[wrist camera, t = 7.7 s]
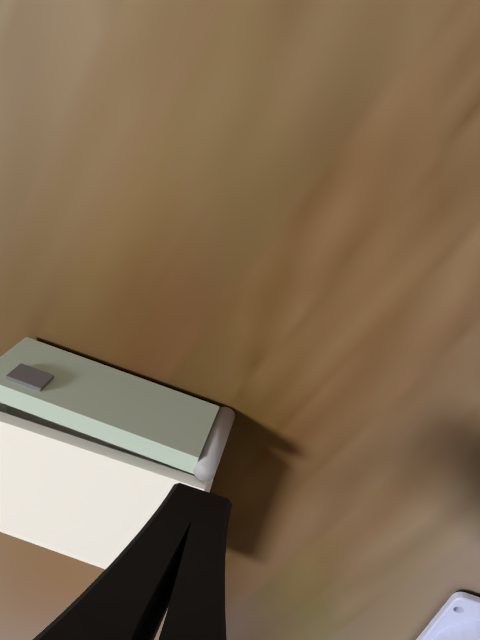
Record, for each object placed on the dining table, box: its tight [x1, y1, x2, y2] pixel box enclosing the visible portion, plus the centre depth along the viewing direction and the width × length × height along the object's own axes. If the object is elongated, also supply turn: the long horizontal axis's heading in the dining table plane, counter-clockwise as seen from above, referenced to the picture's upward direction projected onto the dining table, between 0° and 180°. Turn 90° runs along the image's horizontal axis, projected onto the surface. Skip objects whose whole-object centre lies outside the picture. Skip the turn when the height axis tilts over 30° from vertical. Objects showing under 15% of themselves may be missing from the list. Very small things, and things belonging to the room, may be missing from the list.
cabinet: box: [0, 403, 213, 569], centre depth 23 cm, size 8×11×4 cm
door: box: [0, 337, 235, 481], centre depth 20 cm, size 1×11×4 cm, turn 75°
